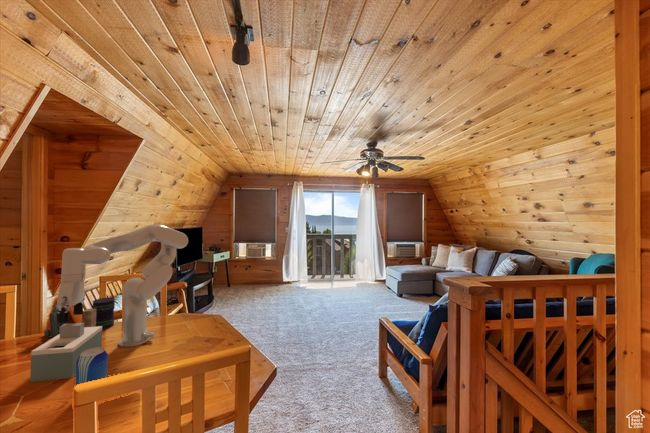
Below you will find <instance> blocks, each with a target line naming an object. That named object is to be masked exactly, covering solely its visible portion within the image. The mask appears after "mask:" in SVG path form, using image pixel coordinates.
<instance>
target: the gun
mask: <svg viewBox="0 0 650 433" xmlns="http://www.w3.org/2000/svg"><path fill="white" fill-rule="evenodd" d="M52 308H53V309H52V312H51V313H49V324H50V326H49V327H50V329H45V330H44V332H43V333H44V337H48V338H49V337H51V339H52V338H54V337H55V336H57V335H59V334H60V326H62V325H64V324H65V323H58V319H59V313H58V310H57V304H53V305H52Z"/></svg>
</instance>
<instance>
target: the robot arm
mask: <svg viewBox="0 0 650 433" xmlns="http://www.w3.org/2000/svg"><path fill="white" fill-rule="evenodd" d="M153 242H158V243H160V245H161V246H160V247H161V248H160V251H159V252H158V254H157V255H155V256H154V257H153V258H152V260H151V261H149V262H148V263H147V264H146V265H145V266H144V268H143V269H142V272H141V273H142V276H143V277H144V278H145V279H144V278H140V277H131V278H129V279H128V280H127V281H125V282H124V284H123V286H122V298H123V327H122V338H121V339H120V340H119V341H118V345H119V346H120V347H123V348H128V347H129V348H131V347H137V346H140V345H143V344H145V343H147V342H148V341H149V340H150V338H155V337H156V333H155V332H154V331H151V332H149V329H147V315H148V314H147V311H148V310H147V308H148V302H147V301H149V300H151V299H152V298H154V297H155V296H156V295H157V294H158V293H159V292H160V291H161V290H162V288H163V287H164V286H165V285H167V283H168V282H169V281H170V280H171V278H172V276H173V267H172V266H171V264H172V263H173V262H174V261H175V259H176V257H177V249H180V250H181V249H184V248H186V247H187V245H188V244H189V237H188V236H187V234H185V233H184V232H181V231H179V230H176V229H174V228H170V227H169V226H166V225H161V224H149V225H147V226H143V227H140V228H139V229H135V230H132V231H130V232H126V233H124V234H120V235H116V236H113V237H110V238H106V239H102V240H99V241H97V242H95V243H91V244H87V245H86V246H85V247H71V248H69V247H68V248H65V249H64V250H63V251H62V256H61V257H62V259H61V275H60V277H61V278H60V285H59V288H58V294H57V303H56V305H57V310H58V313H59V319H58V323H63V324H68V323H69V321H70V320H69V318H70V308H71V307H73V315H75V316H76V315H77V316H78V315H81V316H82V314H83V311H84V305H85V299H86V298H85V297H86V295H87V294H86V292H85V281H86V266H87V265H103V264H104V263H105V264H106V263H107V262H108V261H109V260H110V259H111V254H114V253H120V252H129V251H133V250H136V249H139V248H141V247H143V246H146V245H148V244H151V243H153Z"/></svg>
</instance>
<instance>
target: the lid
mask: <svg viewBox="0 0 650 433" xmlns="http://www.w3.org/2000/svg"><path fill="white" fill-rule="evenodd" d="M63 324H64V325H62V326H60V334H59V335H57V336H55V337H54V338H52V337H51V338H50V339H48V340H47V341H46V342H44V343H43V344H40V345H39V346H38V347H36V348H34V349H32V350H31V351H30V356H31V355H41V354H54V353H66V352H73V351H75V350H76V349H77V348H79V347H80V346H81V345H82V344H84V343H85V342H86V341H88V340H89V339H90V338H92V337H93V336H94V335H96V334H97V333H98V332H100V331H101V330H102V326H98V327H84V323H82V322H76V323H75V322H74V323H73V322H71V323H63ZM102 331H103V330H102ZM65 345H66V346H65ZM55 346H65V347H63V348H54V347H55Z"/></svg>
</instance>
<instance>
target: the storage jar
mask: <svg viewBox="0 0 650 433" xmlns="http://www.w3.org/2000/svg"><path fill="white" fill-rule="evenodd" d="M115 299H116V298H115V297H101V298H97V299H94V300H93V301H92V308H91V309H96V327H98V326H102V331H103V330H107V329H110V328H113V327H114V325H115V306H116V304H115V302H116V300H115Z"/></svg>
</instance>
